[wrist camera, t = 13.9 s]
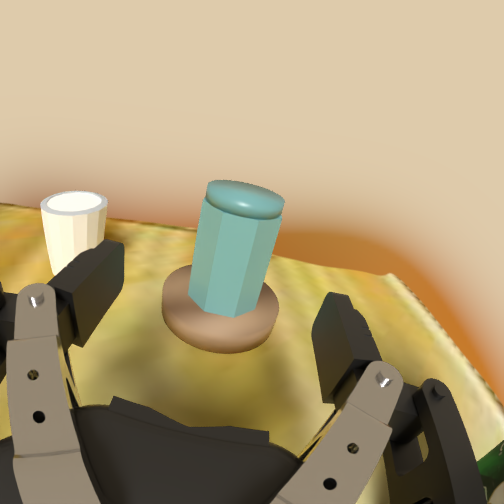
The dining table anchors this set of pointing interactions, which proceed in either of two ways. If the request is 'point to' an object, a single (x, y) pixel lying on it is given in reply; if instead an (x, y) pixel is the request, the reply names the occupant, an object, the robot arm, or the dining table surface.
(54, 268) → the white cup
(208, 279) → the teal lidded canister
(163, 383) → the dining table surface
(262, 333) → the post
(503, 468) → the coffee jar
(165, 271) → the dining table surface
